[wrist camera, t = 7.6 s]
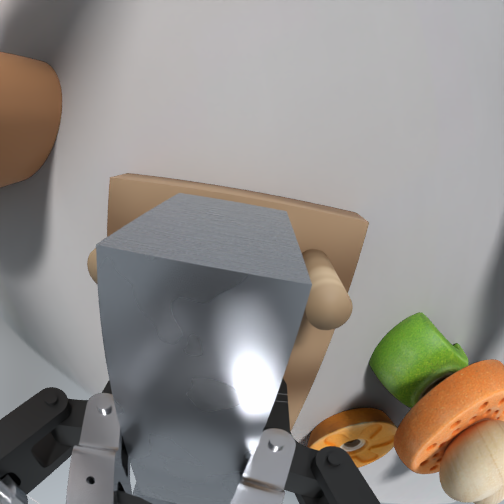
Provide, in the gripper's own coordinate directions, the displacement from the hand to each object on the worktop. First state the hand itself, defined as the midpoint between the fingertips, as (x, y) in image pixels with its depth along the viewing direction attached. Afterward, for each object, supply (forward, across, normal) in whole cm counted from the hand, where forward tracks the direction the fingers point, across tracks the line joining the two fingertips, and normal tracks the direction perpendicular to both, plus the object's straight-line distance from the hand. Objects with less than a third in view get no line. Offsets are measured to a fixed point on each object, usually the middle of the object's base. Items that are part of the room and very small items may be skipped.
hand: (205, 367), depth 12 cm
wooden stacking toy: (+5, -17, +8) cm, 20 cm away
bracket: (+5, +20, -9) cm, 22 cm away
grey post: (+1, 0, 0) cm, 1 cm away
